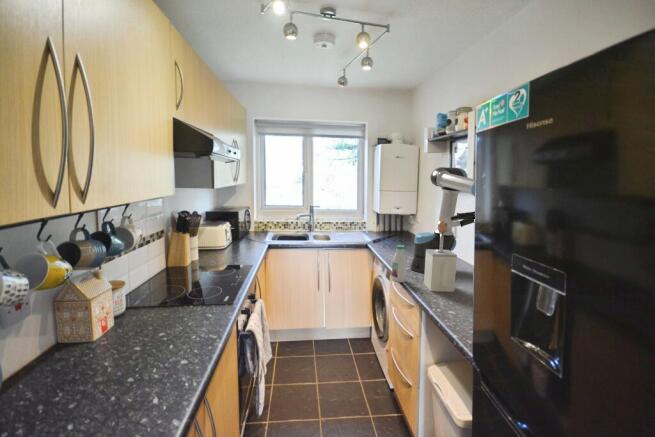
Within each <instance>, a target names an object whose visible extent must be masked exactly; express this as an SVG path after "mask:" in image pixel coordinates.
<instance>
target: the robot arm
mask: <svg viewBox="0 0 655 437" xmlns="http://www.w3.org/2000/svg"><path fill="white" fill-rule="evenodd" d="M429 179H430V182H431V183H432V185H434V186H435V187H439V188H441V190H442V192H443V193H442V199H441V204H440V211H439V218H438V221H444V223H447V232H444V237H443V250H449V251H451V252H453V250H455V249H456V246H457V239H456V236H455V235H454V234H455V233H454V232H453V228H456V227H460V228H463V227H464V226H467V225H471V224H474V223H475V222H474V219H475V211H469V212H468V211H467V212H460V213H459V212H457V213H456V208H457V202H458V198H459V197H458V194H459V193H461V192H463V193H467V194H470V195H472V196H473V197H475V180H476V179H475V178H470V177H468V173H467V172H466V171H465V170H464V169H463V168H462V167H461V168H459V167H444V166H443V167H442V166H441V167H437V168H435V169H434V170H432V172H431V174H430V178H429ZM475 198H476V197H475ZM455 213H456V214H455ZM433 232H434V233H433ZM433 232H428V231H427V232H419V233H417V234H415V236H414V240H413V241H414V242H413V243H414V245H413V257H412V261H411V263H410V267H409V269H410V270H411V271H413V272H415V273H420V274H421V273H422V274H425V258H426V249H436V250H439V248H440V233H441V232H438V227H437V228H436V229H435V230H434V231H433Z"/></svg>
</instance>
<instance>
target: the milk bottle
mask: <svg viewBox="0 0 655 437" xmlns="http://www.w3.org/2000/svg"><path fill="white" fill-rule="evenodd" d="M405 247H406V246H405V245H402V244H398V245H396V246H395V253H394V256H393V258H392V266H391V281H392V282H394V283H405V282H406V281H407V257H406V255H405V250H406V249H405Z"/></svg>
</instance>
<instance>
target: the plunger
mask: <svg viewBox="0 0 655 437" xmlns="http://www.w3.org/2000/svg"><path fill="white" fill-rule="evenodd" d="M437 223H438V224H437V228H438V232H441V233H440V248H439V253H442V252H443V237H444V232H447V223H444V221H439V220H438V222H437Z"/></svg>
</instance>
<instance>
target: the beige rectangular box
mask: <svg viewBox="0 0 655 437" xmlns="http://www.w3.org/2000/svg"><path fill="white" fill-rule="evenodd" d="M457 257H458V256H457V253H454V252H453V251H449V250H443V252H442V253H439V250H436V249H426V258H425V273H423V274H424V276H423V279H424V280H423V284H424V286H425V287H426V288H427V289H428V290H429V291H430V292H444V293H445V292H449V293H451V292H452V293H454V292H455V285H456V272H457V259H458V258H457Z"/></svg>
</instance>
